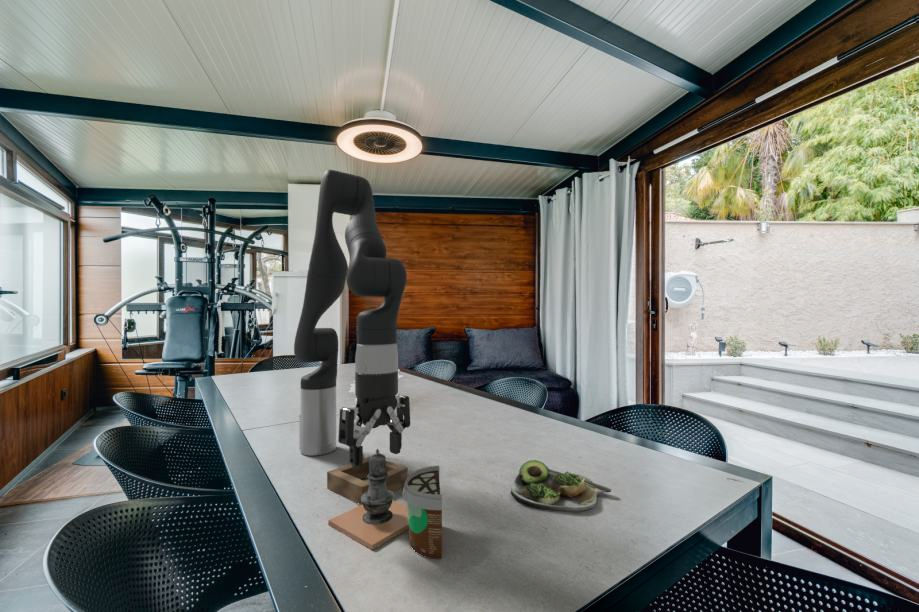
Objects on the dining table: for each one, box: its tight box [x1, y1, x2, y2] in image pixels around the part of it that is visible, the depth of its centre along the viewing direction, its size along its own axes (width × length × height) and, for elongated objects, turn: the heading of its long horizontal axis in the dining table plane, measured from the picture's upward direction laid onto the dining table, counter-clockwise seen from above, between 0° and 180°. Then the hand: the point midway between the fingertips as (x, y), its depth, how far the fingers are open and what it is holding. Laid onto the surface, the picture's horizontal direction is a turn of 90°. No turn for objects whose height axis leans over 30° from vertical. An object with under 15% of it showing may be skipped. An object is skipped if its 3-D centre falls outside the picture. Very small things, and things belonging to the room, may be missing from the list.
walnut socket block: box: [326, 456, 409, 506], centre depth 84 cm, size 12×12×4 cm
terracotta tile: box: [328, 499, 409, 550], centre depth 70 cm, size 12×12×1 cm
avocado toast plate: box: [510, 459, 612, 512], centre depth 81 cm, size 19×18×5 cm
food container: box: [402, 465, 443, 560], centre depth 64 cm, size 12×6×10 cm, turn 5°
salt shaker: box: [361, 448, 395, 525], centre depth 70 cm, size 6×6×12 cm
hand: (376, 459), depth 70 cm, fingers open, 8 cm apart
